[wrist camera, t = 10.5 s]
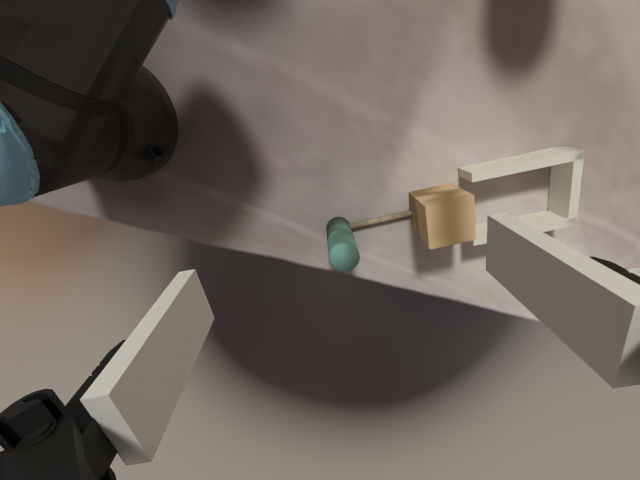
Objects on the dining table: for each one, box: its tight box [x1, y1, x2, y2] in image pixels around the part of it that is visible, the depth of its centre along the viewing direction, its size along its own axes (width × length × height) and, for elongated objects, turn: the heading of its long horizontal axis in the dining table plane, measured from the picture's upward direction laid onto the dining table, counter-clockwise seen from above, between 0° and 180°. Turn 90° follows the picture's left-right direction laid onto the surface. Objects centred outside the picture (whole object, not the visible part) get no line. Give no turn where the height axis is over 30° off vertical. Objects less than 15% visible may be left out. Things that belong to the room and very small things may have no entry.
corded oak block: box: [326, 183, 476, 271], centre depth 41 cm, size 19×6×10 cm, turn 103°
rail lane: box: [459, 146, 585, 246], centre depth 43 cm, size 14×10×4 cm
